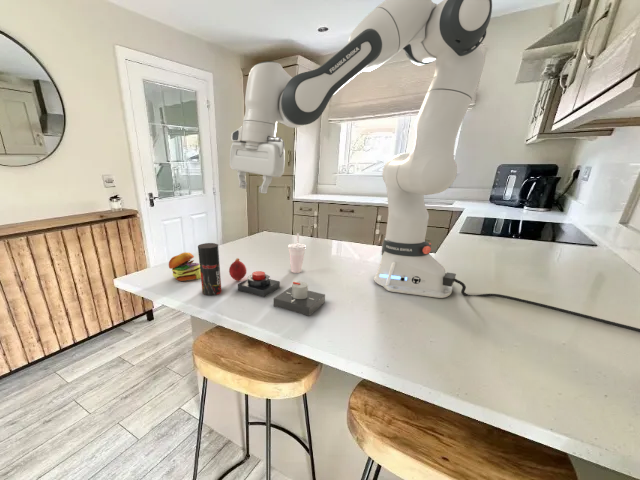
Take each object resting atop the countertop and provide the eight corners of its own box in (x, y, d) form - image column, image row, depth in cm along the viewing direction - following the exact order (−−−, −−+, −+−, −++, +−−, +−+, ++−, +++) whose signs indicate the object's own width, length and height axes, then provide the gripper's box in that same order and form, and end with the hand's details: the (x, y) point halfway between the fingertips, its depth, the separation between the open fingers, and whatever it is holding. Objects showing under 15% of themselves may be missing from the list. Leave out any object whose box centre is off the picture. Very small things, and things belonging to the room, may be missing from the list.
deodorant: (218, 296, 93) (214, 248, 87) (199, 295, 94) (194, 248, 88) (223, 288, 98) (220, 243, 93) (205, 288, 99) (201, 242, 93)
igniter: (279, 287, 98) (279, 276, 97) (264, 297, 92) (264, 285, 90) (254, 281, 104) (254, 270, 102) (237, 290, 97) (237, 278, 95)
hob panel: (324, 302, 88) (325, 293, 86) (309, 316, 80) (309, 307, 79) (291, 294, 93) (291, 286, 92) (273, 306, 86) (273, 297, 85)
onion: (244, 284, 101) (243, 261, 98) (227, 283, 102) (226, 260, 99) (248, 278, 107) (247, 256, 103) (232, 277, 108) (231, 255, 105)
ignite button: (267, 277, 97) (267, 272, 96) (260, 281, 94) (260, 276, 93) (257, 275, 99) (257, 270, 98) (249, 279, 96) (249, 273, 95)
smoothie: (307, 270, 113) (309, 232, 108) (300, 275, 108) (301, 236, 103) (292, 267, 116) (293, 230, 111) (284, 272, 111) (284, 234, 106)
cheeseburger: (193, 283, 102) (183, 255, 99) (168, 287, 107) (158, 260, 104) (208, 273, 111) (200, 247, 108) (185, 277, 116) (176, 251, 113)
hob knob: (310, 295, 86) (311, 282, 85) (303, 300, 83) (303, 287, 81) (296, 291, 89) (296, 279, 87) (288, 297, 85) (289, 284, 84)
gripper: (294, 139, 75) (285, 197, 80) (245, 137, 90) (240, 186, 95) (275, 134, 71) (267, 196, 77) (227, 133, 86) (223, 185, 91)
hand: (252, 190), depth 86 cm, fingers open, 8 cm apart
